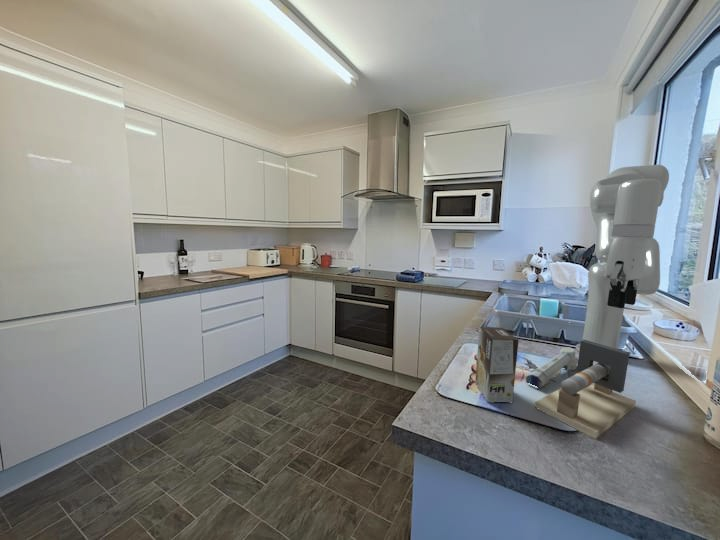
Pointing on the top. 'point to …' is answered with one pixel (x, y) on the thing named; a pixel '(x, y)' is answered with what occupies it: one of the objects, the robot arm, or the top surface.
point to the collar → (608, 357)
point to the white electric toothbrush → (553, 367)
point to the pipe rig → (587, 402)
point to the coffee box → (496, 364)
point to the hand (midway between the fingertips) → (621, 304)
